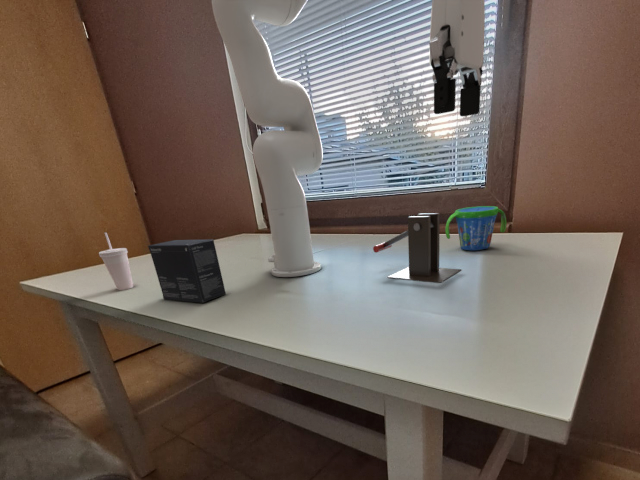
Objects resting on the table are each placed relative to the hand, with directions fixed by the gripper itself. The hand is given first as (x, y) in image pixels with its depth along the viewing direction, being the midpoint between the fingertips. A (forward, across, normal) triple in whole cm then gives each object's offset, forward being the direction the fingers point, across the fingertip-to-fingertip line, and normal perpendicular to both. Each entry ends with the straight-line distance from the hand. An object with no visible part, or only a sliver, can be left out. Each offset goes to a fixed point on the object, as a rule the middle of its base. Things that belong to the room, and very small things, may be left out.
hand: (457, 113), depth 61 cm
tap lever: (+21, -3, -12) cm, 24 cm away
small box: (+29, +26, -49) cm, 62 cm away
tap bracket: (+29, -3, -8) cm, 30 cm away
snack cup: (+29, -34, -9) cm, 46 cm away
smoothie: (+29, +29, -77) cm, 87 cm away
